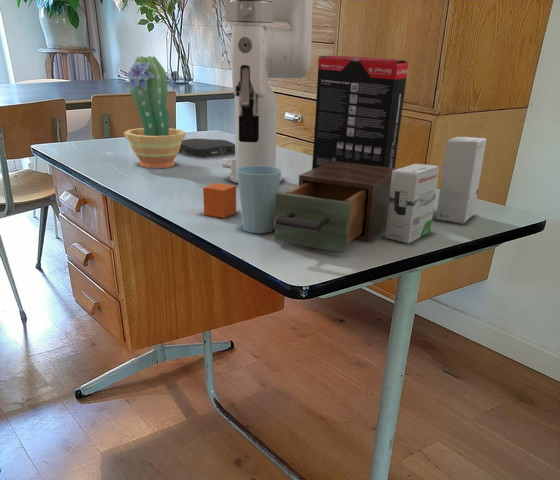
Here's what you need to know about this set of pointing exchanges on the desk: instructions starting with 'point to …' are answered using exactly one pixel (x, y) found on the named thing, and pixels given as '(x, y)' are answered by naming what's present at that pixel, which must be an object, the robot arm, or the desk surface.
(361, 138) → the graphics card box
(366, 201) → the two-tone handled box
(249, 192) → the cup
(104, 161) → the desk surface
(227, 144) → the media streaming box
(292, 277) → the desk surface
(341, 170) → the cabinet
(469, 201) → the cosmetic box
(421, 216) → the ink box
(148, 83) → the potted cactus
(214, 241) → the desk surface
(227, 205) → the plain orange cube
